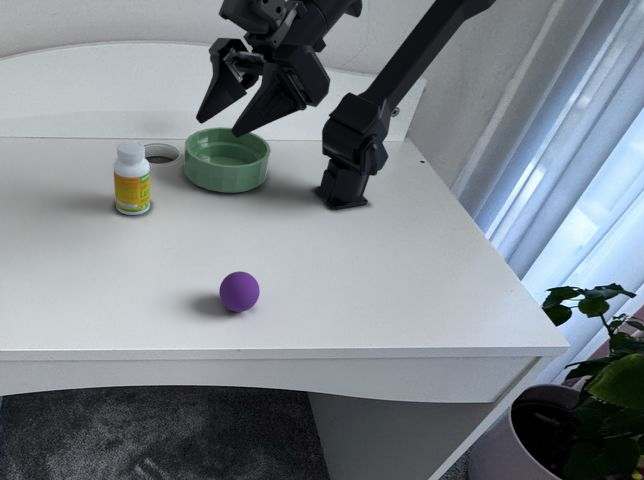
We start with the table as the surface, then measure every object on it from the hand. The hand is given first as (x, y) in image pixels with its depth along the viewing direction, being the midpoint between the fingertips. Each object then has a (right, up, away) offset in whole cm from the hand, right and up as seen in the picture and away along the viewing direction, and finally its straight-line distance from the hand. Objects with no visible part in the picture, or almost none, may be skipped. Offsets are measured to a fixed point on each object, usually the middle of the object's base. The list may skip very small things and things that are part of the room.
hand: (214, 127), depth 59 cm
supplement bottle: (-11, -4, +21) cm, 24 cm away
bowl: (+4, +5, +28) cm, 29 cm away
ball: (+3, -19, +4) cm, 19 cm away
